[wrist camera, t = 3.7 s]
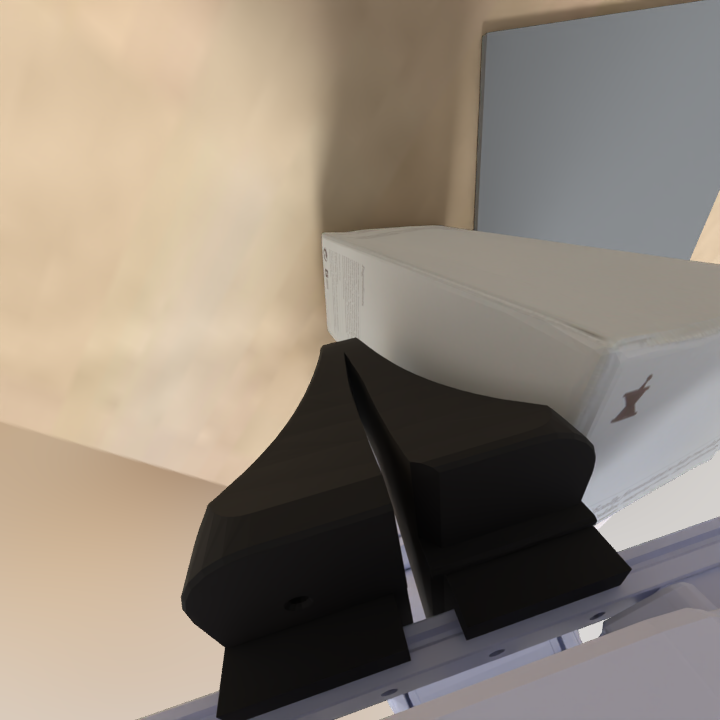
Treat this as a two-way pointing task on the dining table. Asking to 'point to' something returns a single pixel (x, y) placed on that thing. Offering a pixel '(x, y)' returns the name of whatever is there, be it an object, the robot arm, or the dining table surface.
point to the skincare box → (547, 337)
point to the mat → (602, 130)
